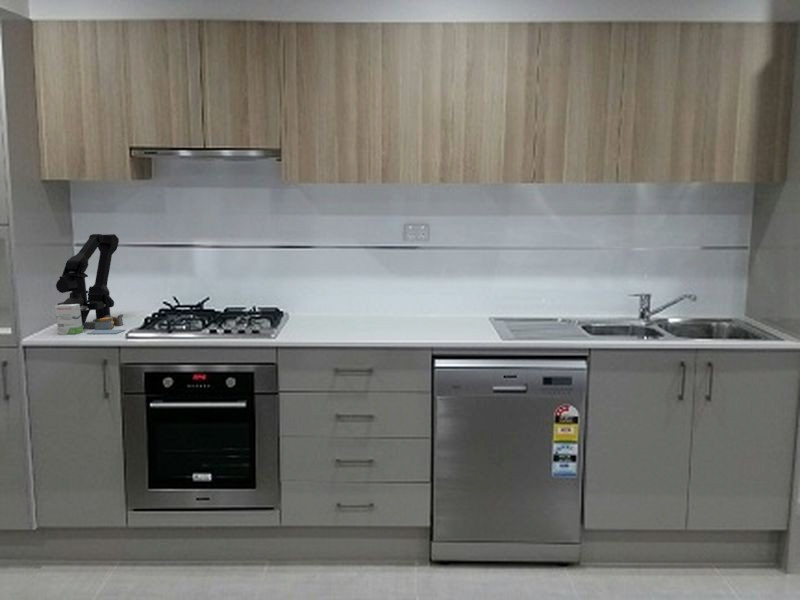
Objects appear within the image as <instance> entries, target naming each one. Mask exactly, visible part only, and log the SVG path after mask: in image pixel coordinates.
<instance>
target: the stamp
mask: <svg viewBox="0 0 800 600" xmlns="http://www.w3.org/2000/svg"><path fill="white" fill-rule="evenodd" d="M113 317H114V316H111V317H104V318H101V319H99V321H106V320H107V319H110V318H112V321H111V325H112V328H113V327H115V326H114V325H113V324H114V322H113ZM83 329H95V324H94V322H93V321H86V322H84V323H83Z"/></svg>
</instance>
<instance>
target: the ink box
mask: <svg viewBox="0 0 800 600" xmlns="http://www.w3.org/2000/svg"><path fill="white" fill-rule="evenodd" d="M54 309H55V317H56V325H57V332H58V333H57V335H78V334H80V333H83V332H84V328H83V326H82V319H81V311H80V304H61V305H58V304H57V305H54Z"/></svg>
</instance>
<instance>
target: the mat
mask: <svg viewBox="0 0 800 600" xmlns="http://www.w3.org/2000/svg"><path fill="white" fill-rule="evenodd" d="M123 332H126V329H111V330H95V329H94V330H92V331H89V332H87V333H86V335H118V334H120V333H123Z"/></svg>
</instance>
